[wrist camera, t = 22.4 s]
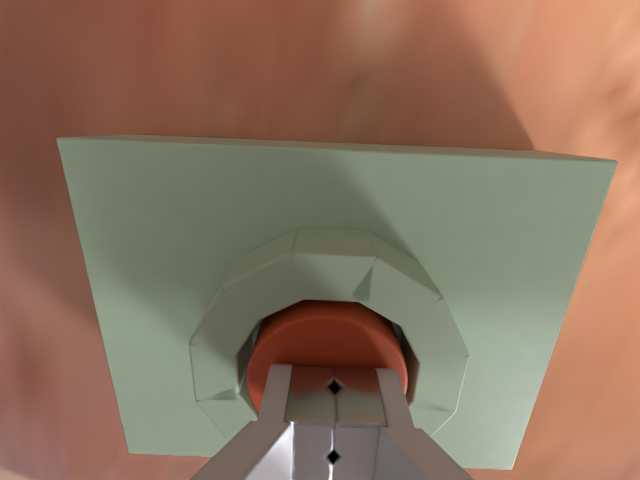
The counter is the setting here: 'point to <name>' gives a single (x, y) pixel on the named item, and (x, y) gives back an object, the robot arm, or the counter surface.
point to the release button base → (329, 272)
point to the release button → (323, 341)
